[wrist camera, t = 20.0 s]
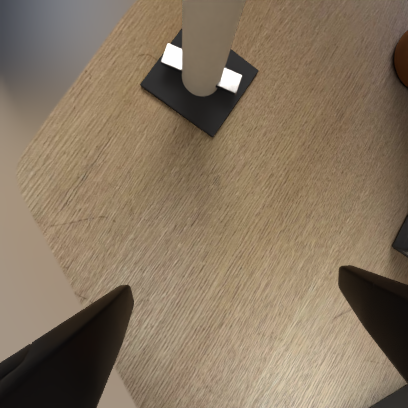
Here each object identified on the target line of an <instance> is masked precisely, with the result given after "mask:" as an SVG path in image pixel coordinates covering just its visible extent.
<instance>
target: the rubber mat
mask: <svg viewBox="0 0 408 408" xmlns="http://www.w3.org/2000/svg"><path fill="white" fill-rule="evenodd" d="M171 45H174V46H176V47H178V48H181V49H182V29H181V30H180V32H179V33H178V34H177V36H176V37H175V38H174V40H173V41H172V42H171ZM163 54H164V53H163ZM163 54H162V56H161V57H160V58H159V60H158V61H157V62H156V64H155V65H154V66H153V68H152V69H151V71H150V72H149V73H148V75H147V76H146V77H145V79H144V80H143V81H142V83H141V84H140V85H141V87H143V88H144V89H146V90H147V91H148V92H150V93H151V94H153V95H154V96H155V97H157V98H158V99H160V100H161V101H162V102H164V103H165V104H166V105H168V106H169V107H171V108H172V109H173V110H175V111H176V112H178V113H179V114H180V115H182V116H183V117H185V118H186V119H187V120H189V121H190V122H192V123H193V124H194V125H196V126H197V127H198V128H200V129H201V130H203V131H204V132H205V133H207V134H208V135H210V136H211V137H212V138H213V137H214V135H215V134H216V132H217V131H218V129H219V128H220V126H221V125H222V123H223V122H224V121H225V119H226V118H227V116H228V115H229V113H230V112H231V110H232V109H233V107H234V106H235V105H236V103H237V102H238V100H239V99H240V97H241V96H242V94H243V93H244V91H245V90H246V89H247V87H248V86H249V84H250V83H251V81H252V80H253V78H254V77H255V75H256V74H257V72H258V70H257V69H256V68H254V67H253V66H252V65H251V64H249V63H248V62H247V61H245V60H244V59H243V58H242V57H240V56H239V55H238V54H236V53H235V52H234V51H233V50H231V49H230V52H229V56H228V59H227V62H226V65H225V68H227V69H229V70H231V71H234V72H236V73H238V74H241V75H242V79H241V81H240V84H239V87H238V90H237V93H236V95H235V96H234V95H232V94H230V93H227V92H225V91H223V90H220V89H218V88H217V90H216V91H215V92H214V93H212V94H211V95H208V96H197V95H194V94H192V93H191V92H189V91H188V90H187V89H186V87H185V86H184V84H183V81H182V73H180V72H177V71H175V70H172V69H170V68H168V67H165V66H163V65H161V59H162V57H163Z"/></svg>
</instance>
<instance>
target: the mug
mask: <svg viewBox="0 0 408 408" xmlns="http://www.w3.org/2000/svg"><path fill="white" fill-rule="evenodd" d="M394 63H395V69H396V72H397V74H398V76H399V78H400V80H401V81H402V82H403V84H404V85H405V86H407V87H408V30H407V31H406V32H405V33H404V35H403V36H402V37H401V39H400V40H399V42H398V44H397V46H396V49H395V54H394Z"/></svg>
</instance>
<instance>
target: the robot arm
mask: <svg viewBox="0 0 408 408" xmlns="http://www.w3.org/2000/svg"><path fill="white" fill-rule="evenodd" d="M338 285H339V288H340V290H341V292H342V294H343V295H344V297H345V298H346V300H347V301H348V303H349V304H350V306H351V308H352V309H353V311H354V312H355V314H356V315H357V317H358V319H359V320H360V322H361V323H362V325H363V326H364V327H365V329H366V330H367V331H368V333H369V334H370V335H371V337H372V338H373V339H374V341H375V342H376V343H377V344H378V346H379V347H380V348H381V350H382V351H383V352H384V353H385V355H386V356H387V357H388V359H389V360H390V361H391V363H392V364H393V365H394V366H395V368H396V369H397V370H398V372H399V373H400V374H401V376H402V377H403V378H404V379H405V381H406V382H407V383H408V285H406V284H403V283H401V282H398V281H395V280H392V279H389V278H386V277H383V276H380V275H377V274H375V273H372V272H369V271H366V270H363V269H360V268H357V267H354V266H351V265H348V266H341V267H340V268H339V277H338ZM133 306H134V299H133V295H132V291H131V288H130V286H129V285H121V286H119V287H117V288H115V289H114V290H112V291H111V292H109V293H108V294H106V295H105V296H103V297H102V298H100V299H98V300H97V301H95V302H94V303H92V304H91V305H89V306H88V307H86V308H85V309H83V310H81V311H80V312H78V313H77V314H75V315H74V316H72V317H71V318H69V319H68V320H66V321H64V322H63V323H61V324H60V325H58V326H57V327H55V328H54V329H52V330H51V331H49V332H48V333H46V334H44V335H43V336H41V337H40V338H38V339H37V340H35V341H34V342H32V344H29V345H27V346H26V347H25V348H23V349H21V350H20V351H18V352H17V353H15V354H13V355H12V356H10V357H9V358H7V359H5V360H4V361H2V362H1V363H0V408H97V405H98V403H99V400H100V398H101V395H102V393H103V390H104V388H105V385H106V383H107V380H108V377H109V375H110V372H111V370H112V368H113V365H114V363H115V360H116V358H117V355H118V353H119V350H120V348H121V345H122V343H123V340H124V337H125V333H126V330H127V327H128V323H129V320H130V316H131V313H132V310H133Z"/></svg>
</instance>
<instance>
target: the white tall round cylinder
mask: <svg viewBox="0 0 408 408" xmlns="http://www.w3.org/2000/svg"><path fill="white" fill-rule="evenodd" d="M245 2H246V0H182V49H181V48H178V47H176V46H174V45H171V44H169V43H167V46H166V49H165V51H164V54H163V57H162V59H161V65H163V66H165V67H168V68H170V69H172V70H175V71H177V72H180V73H182V81H183V84H184V86H185V87H186V89H187V90H188V91H189V92H191V93H192V94H194V95H197V96H208V95H211V94H212V93H214V92H215V91H216V90H217V88H218V89H220V90H223V91H225V92H227V93H230V94H232V95H234V96H235V95H236V93H237V90H238V87H239V84H240V81H241V79H242V75H241V74H238V73H236V72H234V71H231V70H229V69H227V68H225V65H226V62H227V59H228V56H229V52H230V49H231V46H232V43H233V40H234V36H235V33H236V30H237V27H238V24H239V21H240V17H241V14H242V11H243V8H244V5H245Z"/></svg>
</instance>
